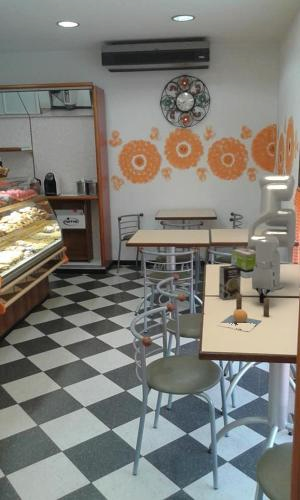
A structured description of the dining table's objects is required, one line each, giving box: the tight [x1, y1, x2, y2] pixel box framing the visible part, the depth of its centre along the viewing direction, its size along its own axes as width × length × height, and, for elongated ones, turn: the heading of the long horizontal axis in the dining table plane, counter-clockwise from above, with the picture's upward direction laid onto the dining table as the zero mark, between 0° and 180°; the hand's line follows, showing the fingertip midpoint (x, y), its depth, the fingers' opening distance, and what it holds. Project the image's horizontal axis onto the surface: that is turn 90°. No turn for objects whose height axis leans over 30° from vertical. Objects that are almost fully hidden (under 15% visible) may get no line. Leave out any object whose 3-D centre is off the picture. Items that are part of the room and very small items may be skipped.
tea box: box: [230, 248, 256, 279], centre depth 255 cm, size 15×10×15 cm
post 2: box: [262, 297, 270, 318], centre depth 187 cm, size 2×2×8 cm
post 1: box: [235, 293, 243, 311], centre depth 194 cm, size 2×2×8 cm
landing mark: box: [220, 314, 262, 330], centre depth 180 cm, size 14×14×1 cm
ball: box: [232, 309, 248, 323], centre depth 180 cm, size 6×6×6 cm
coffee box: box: [218, 265, 242, 301], centre depth 213 cm, size 9×6×16 cm
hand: (262, 302), depth 201 cm, fingers closed
